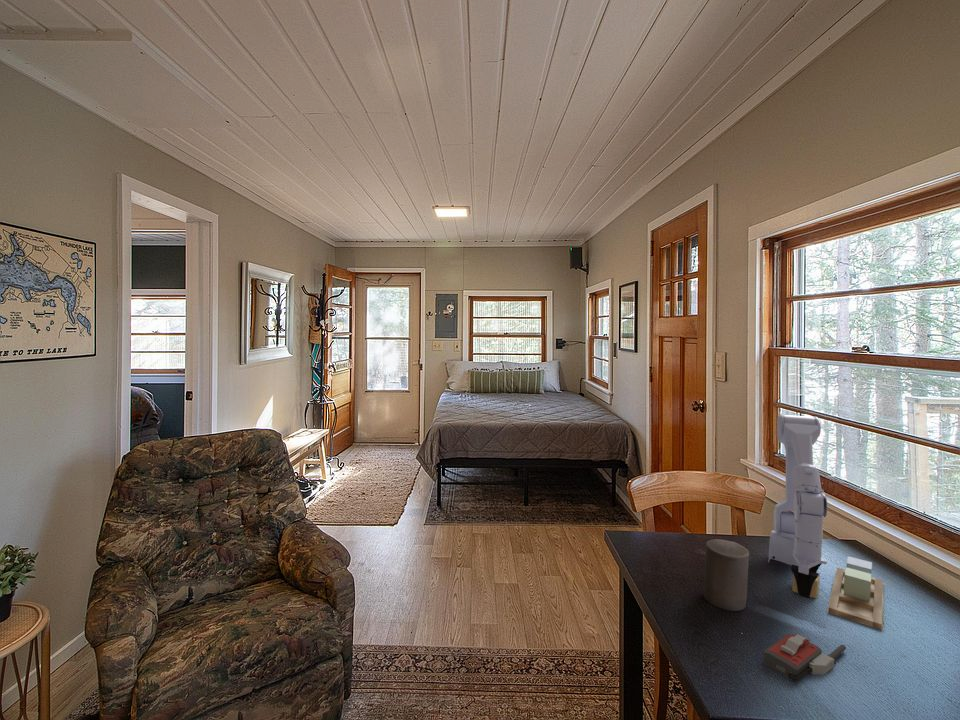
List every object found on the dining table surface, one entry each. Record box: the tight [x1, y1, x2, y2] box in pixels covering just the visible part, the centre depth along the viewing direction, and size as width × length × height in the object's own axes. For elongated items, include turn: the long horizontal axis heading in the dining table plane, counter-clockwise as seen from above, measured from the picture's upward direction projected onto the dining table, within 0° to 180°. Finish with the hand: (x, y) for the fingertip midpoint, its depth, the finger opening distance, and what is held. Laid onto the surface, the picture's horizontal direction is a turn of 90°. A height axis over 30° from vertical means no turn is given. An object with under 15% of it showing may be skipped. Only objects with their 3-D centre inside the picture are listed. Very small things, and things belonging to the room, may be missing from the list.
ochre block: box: [792, 573, 820, 599], centre depth 118 cm, size 5×5×6 cm
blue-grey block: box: [846, 556, 873, 575], centre depth 121 cm, size 5×5×6 cm
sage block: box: [844, 566, 872, 602], centre depth 115 cm, size 5×5×6 cm
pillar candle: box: [702, 538, 750, 612], centre depth 116 cm, size 10×10×15 cm
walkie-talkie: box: [762, 633, 847, 682], centre depth 95 cm, size 9×4×20 cm
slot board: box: [826, 567, 884, 631], centre depth 115 cm, size 10×26×3 cm, turn 138°
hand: (805, 590), depth 118 cm, fingers open, 6 cm apart
